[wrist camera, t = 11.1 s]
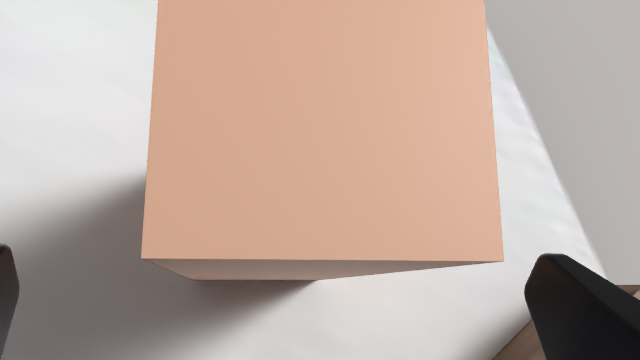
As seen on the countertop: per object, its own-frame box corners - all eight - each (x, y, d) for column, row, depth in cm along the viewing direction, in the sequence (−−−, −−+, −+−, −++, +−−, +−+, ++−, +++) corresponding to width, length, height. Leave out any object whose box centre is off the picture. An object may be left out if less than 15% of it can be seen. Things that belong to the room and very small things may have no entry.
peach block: (317, 279, 19) (503, 261, 7) (192, 280, 18) (141, 259, 6) (317, 161, 20) (480, -48, 8) (198, 156, 19) (164, -88, 7)
